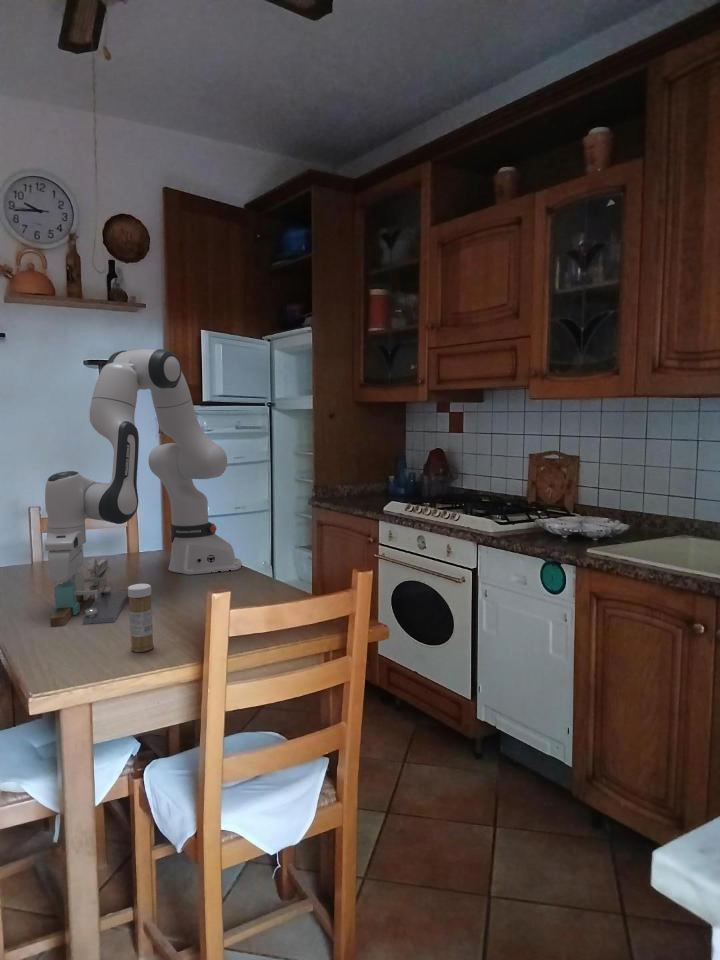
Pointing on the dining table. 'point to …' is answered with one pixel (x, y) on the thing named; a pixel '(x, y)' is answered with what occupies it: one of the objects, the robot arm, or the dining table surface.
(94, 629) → the dining table surface
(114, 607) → the bolt plate
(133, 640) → the sprinkles bottle
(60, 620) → the rail
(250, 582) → the dining table surface
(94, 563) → the wrench
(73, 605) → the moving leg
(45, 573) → the dining table surface
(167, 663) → the dining table surface
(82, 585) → the fixed leg
